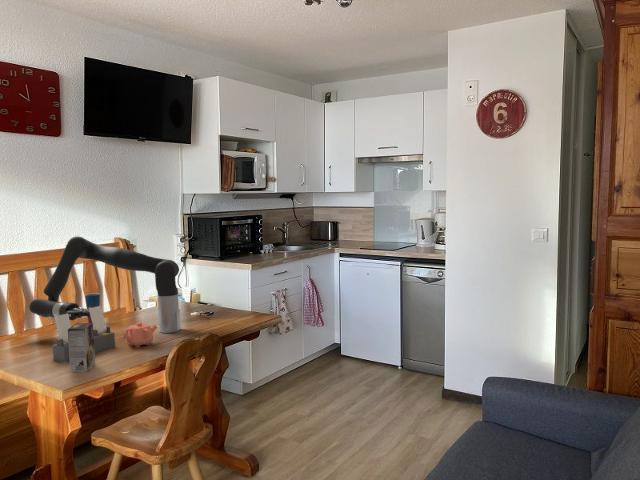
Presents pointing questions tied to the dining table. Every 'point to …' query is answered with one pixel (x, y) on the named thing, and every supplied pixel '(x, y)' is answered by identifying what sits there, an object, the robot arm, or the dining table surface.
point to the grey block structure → (100, 343)
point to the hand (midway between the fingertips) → (93, 314)
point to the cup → (92, 302)
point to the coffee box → (81, 347)
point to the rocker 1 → (63, 326)
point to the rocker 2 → (98, 319)
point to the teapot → (139, 334)
